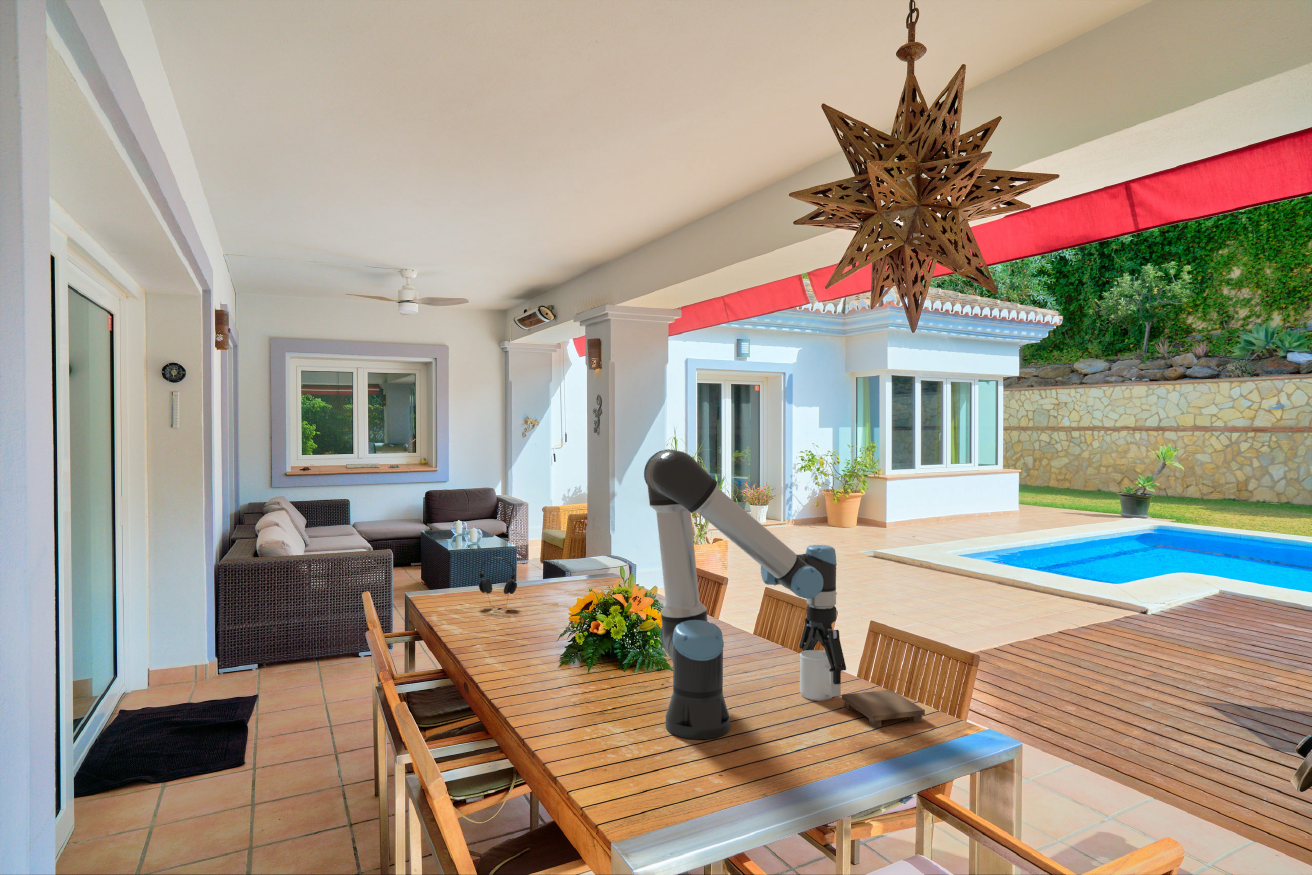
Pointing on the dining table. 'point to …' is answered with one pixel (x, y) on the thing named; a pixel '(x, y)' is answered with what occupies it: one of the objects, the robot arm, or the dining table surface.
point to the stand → (883, 706)
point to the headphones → (487, 585)
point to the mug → (814, 675)
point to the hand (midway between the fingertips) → (821, 686)
